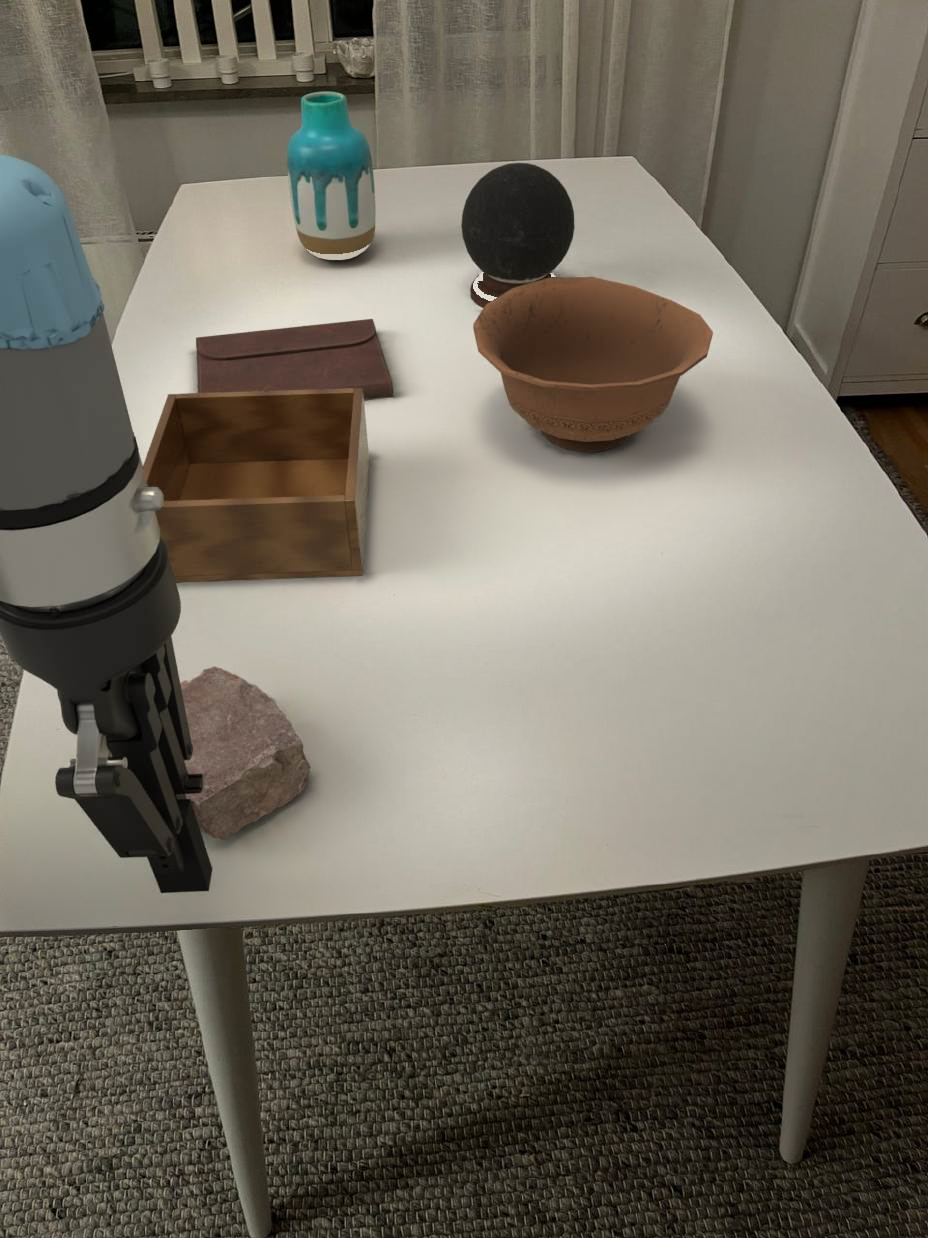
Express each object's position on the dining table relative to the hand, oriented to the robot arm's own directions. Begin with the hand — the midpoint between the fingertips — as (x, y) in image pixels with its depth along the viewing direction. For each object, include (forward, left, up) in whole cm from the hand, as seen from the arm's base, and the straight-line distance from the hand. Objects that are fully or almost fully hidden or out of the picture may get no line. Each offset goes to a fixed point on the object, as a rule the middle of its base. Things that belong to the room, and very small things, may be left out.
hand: (187, 880), depth 58 cm
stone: (0, +11, -4) cm, 12 cm away
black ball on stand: (+25, +85, -4) cm, 88 cm away
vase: (+3, +98, -4) cm, 98 cm away
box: (0, +40, -4) cm, 40 cm away
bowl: (+30, +53, -4) cm, 61 cm away
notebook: (0, +66, -4) cm, 66 cm away
